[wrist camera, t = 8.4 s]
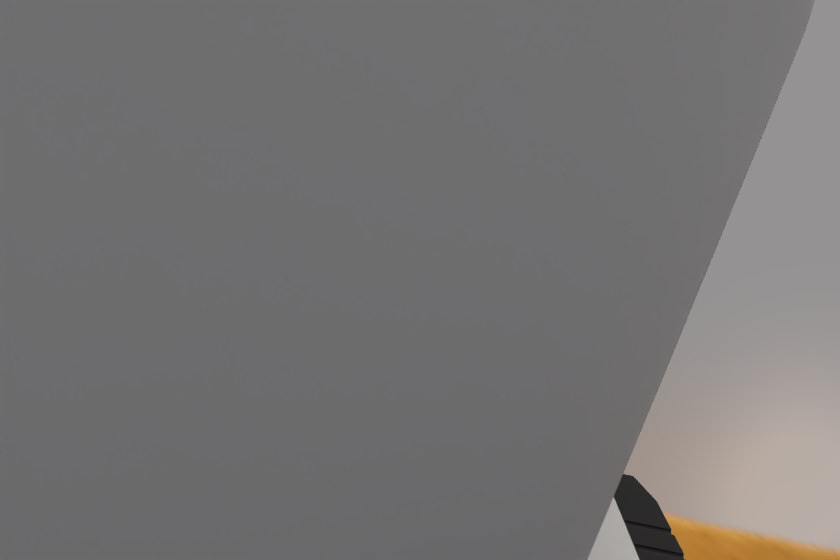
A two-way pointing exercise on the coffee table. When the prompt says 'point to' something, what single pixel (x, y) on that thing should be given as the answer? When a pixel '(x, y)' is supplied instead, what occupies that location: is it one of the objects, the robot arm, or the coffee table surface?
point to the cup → (354, 264)
